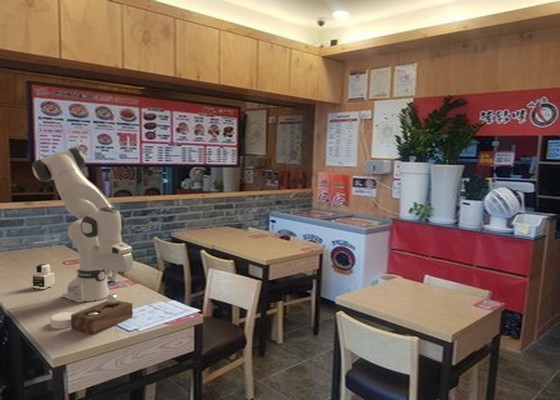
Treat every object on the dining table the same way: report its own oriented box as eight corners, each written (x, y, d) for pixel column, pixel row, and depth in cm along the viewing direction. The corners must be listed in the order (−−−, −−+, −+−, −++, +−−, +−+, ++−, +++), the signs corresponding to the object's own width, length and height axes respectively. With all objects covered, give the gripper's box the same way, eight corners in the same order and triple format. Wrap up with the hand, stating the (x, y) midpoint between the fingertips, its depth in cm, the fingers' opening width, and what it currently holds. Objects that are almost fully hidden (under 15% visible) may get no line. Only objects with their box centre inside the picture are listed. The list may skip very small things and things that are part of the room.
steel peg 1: (86, 326, 162) (85, 313, 162) (93, 323, 166) (93, 310, 165) (92, 327, 161) (92, 315, 161) (100, 324, 164) (99, 312, 164)
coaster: (82, 319, 172) (82, 311, 172) (71, 329, 162) (70, 320, 162) (58, 319, 172) (57, 311, 172) (45, 329, 162) (45, 320, 162)
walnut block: (71, 329, 161) (71, 314, 161) (111, 312, 180) (110, 299, 179) (94, 334, 156) (93, 319, 156) (132, 317, 175) (132, 303, 174)
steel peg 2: (105, 307, 171) (105, 296, 171) (112, 305, 174) (112, 293, 174) (112, 309, 170) (112, 297, 169) (119, 306, 173) (118, 294, 173)
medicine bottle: (32, 289, 212) (31, 266, 210) (43, 285, 218) (42, 262, 217) (44, 290, 210) (43, 267, 209) (55, 286, 217) (54, 263, 216)
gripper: (85, 246, 171) (87, 278, 172) (123, 250, 163) (124, 284, 164) (98, 243, 177) (99, 275, 178) (135, 247, 169) (135, 280, 170)
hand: (111, 279), depth 171 cm, fingers closed
